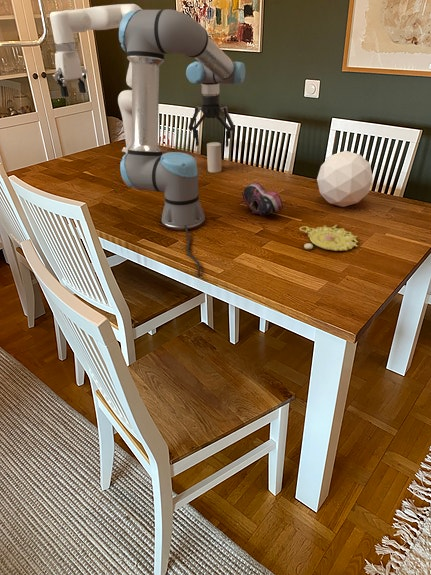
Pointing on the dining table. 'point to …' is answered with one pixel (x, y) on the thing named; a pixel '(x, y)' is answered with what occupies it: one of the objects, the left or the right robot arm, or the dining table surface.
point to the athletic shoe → (261, 200)
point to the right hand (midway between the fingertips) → (212, 145)
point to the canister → (214, 157)
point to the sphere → (344, 178)
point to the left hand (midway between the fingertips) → (74, 94)
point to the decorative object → (330, 238)
